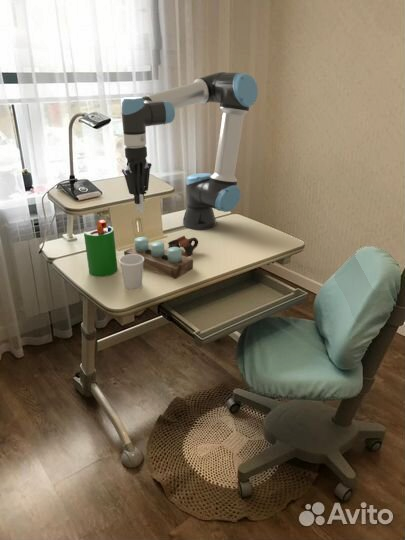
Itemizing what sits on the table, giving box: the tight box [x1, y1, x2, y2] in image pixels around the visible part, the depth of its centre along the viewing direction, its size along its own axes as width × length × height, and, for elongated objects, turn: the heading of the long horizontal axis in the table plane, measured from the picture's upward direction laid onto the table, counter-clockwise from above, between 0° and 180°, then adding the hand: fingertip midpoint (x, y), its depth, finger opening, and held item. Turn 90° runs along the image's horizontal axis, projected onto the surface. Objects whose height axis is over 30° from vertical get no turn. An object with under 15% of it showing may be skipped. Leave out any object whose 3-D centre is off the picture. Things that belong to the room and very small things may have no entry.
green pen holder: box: [83, 219, 119, 278], centre depth 153 cm, size 10×9×20 cm
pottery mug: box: [167, 235, 199, 258], centre depth 171 cm, size 12×10×8 cm
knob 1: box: [134, 236, 149, 253], centre depth 165 cm, size 5×5×8 cm
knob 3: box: [167, 247, 182, 264], centre depth 156 cm, size 5×5×8 cm
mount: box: [123, 244, 194, 280], centre depth 161 cm, size 10×25×4 cm, turn 54°
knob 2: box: [150, 241, 165, 258], centre depth 160 cm, size 5×5×8 cm
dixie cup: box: [118, 254, 144, 291], centre depth 146 cm, size 8×8×10 cm
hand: (140, 211), depth 159 cm, fingers closed
